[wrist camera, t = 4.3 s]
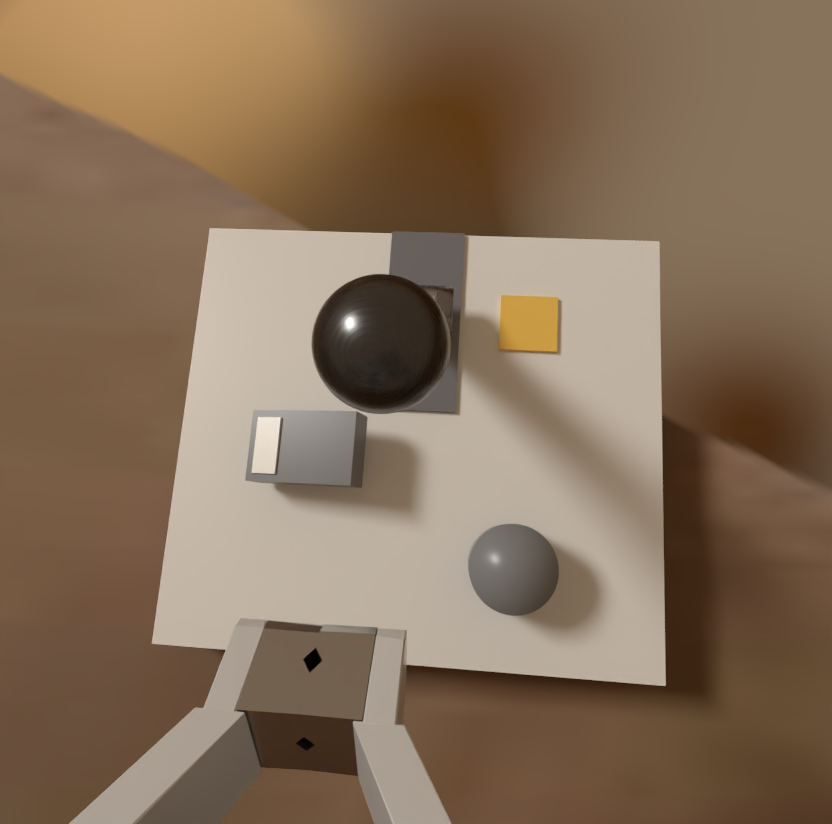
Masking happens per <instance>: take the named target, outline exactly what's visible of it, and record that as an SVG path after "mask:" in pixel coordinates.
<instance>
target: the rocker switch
mask: <svg viewBox="0 0 832 824" xmlns="http://www.w3.org/2000/svg"><path fill="white" fill-rule="evenodd" d="M367 418H368V417H367V416H365V415H363V414H361V413H359V412H357V411H305V410H253V418H252V426H251V435H250V443H249V452H248V460H247V469H246V477H245V481H252V482H258V483H272V484H292V485H312V486H333V487H353V488H362V480H363V468H364V455H365V443H366V431H367Z"/></svg>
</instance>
